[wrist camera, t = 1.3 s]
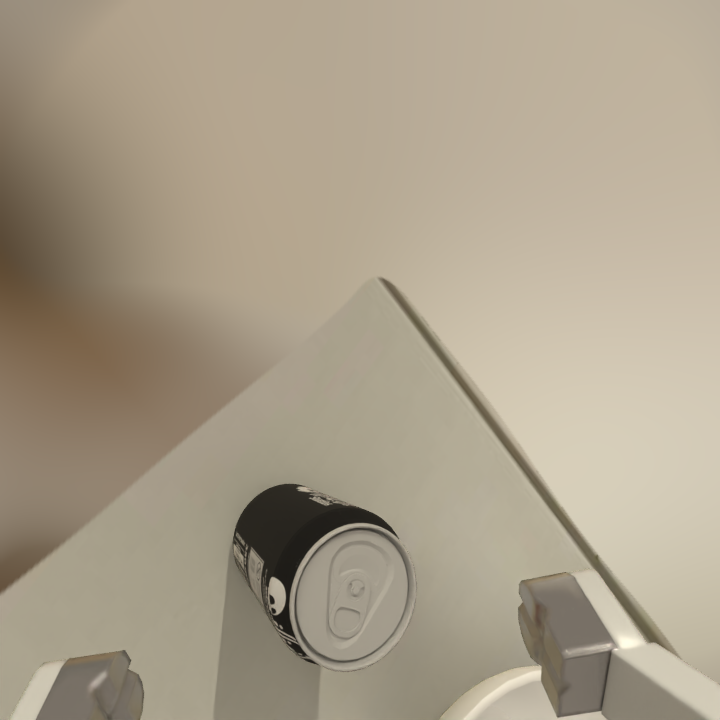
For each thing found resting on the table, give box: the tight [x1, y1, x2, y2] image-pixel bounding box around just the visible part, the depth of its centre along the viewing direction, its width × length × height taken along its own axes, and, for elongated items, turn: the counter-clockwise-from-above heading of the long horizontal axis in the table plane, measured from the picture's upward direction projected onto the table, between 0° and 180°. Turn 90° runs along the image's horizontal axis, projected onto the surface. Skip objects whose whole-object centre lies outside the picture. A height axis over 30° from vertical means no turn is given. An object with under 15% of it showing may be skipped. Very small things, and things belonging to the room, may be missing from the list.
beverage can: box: [233, 484, 417, 672], centre depth 24 cm, size 7×7×12 cm
